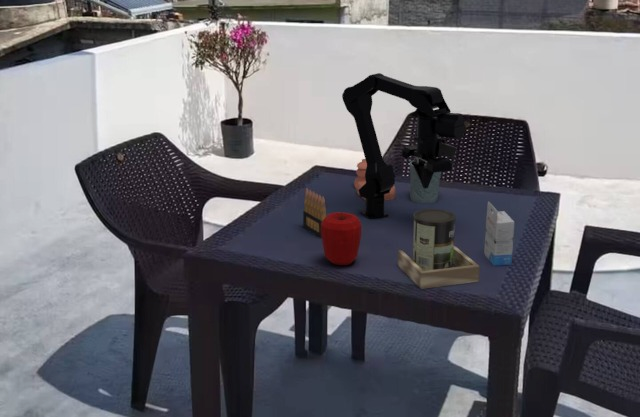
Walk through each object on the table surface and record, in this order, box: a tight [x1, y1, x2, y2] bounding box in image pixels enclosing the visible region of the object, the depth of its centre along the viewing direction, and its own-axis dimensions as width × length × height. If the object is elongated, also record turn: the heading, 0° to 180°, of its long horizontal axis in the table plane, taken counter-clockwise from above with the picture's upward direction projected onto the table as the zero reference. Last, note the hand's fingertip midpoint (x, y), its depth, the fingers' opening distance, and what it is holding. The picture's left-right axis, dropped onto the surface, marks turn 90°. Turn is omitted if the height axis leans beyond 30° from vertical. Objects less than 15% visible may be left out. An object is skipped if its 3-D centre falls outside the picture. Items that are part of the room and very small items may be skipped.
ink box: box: [483, 200, 515, 267], centre depth 201 cm, size 9×5×15 cm, turn 5°
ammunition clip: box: [302, 187, 327, 239], centre depth 222 cm, size 11×2×12 cm, turn 30°
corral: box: [397, 245, 481, 290], centre depth 195 cm, size 15×15×4 cm
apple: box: [321, 211, 362, 266], centre depth 200 cm, size 11×10×14 cm
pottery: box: [353, 158, 396, 201], centre depth 257 cm, size 18×10×10 cm, turn 19°
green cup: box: [409, 159, 442, 205], centre depth 249 cm, size 10×10×12 cm
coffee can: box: [412, 208, 457, 271], centre depth 196 cm, size 10×10×14 cm
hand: (425, 188), depth 222 cm, fingers closed
